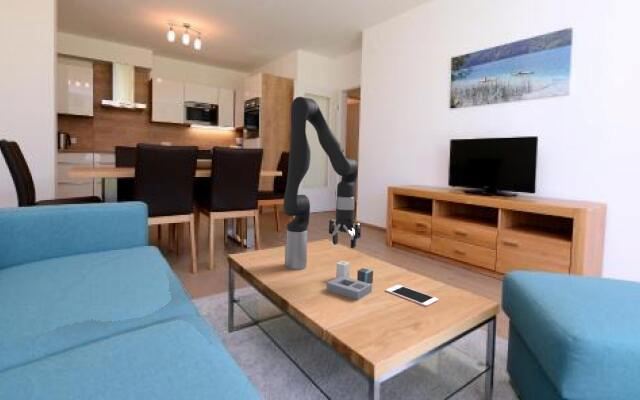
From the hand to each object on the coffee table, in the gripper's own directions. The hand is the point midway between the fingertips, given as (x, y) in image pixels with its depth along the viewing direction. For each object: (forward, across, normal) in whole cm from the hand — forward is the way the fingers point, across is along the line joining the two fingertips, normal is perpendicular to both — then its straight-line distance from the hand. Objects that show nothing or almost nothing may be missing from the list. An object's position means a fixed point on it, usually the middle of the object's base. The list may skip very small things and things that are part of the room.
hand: (343, 246), depth 143 cm
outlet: (+14, +9, -9) cm, 19 cm away
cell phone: (+15, +29, +3) cm, 33 cm away
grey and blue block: (+14, +9, +3) cm, 17 cm away
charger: (+14, 0, 0) cm, 14 cm away
